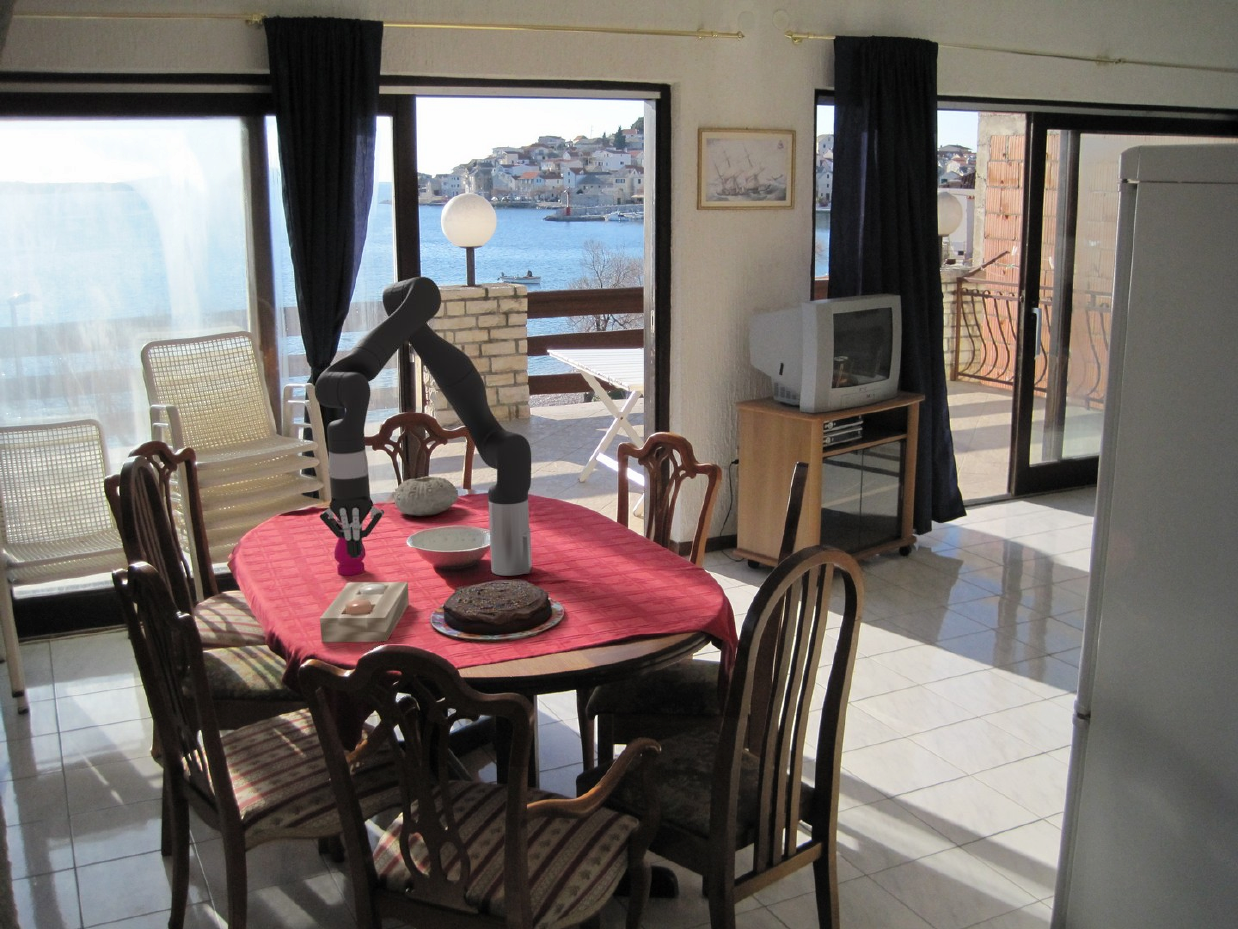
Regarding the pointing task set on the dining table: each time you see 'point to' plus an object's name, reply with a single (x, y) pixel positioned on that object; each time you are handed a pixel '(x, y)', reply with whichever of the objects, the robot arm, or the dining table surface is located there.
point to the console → (365, 625)
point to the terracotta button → (358, 607)
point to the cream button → (372, 589)
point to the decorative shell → (425, 496)
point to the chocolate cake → (497, 612)
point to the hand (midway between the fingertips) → (355, 556)
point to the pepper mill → (347, 558)
